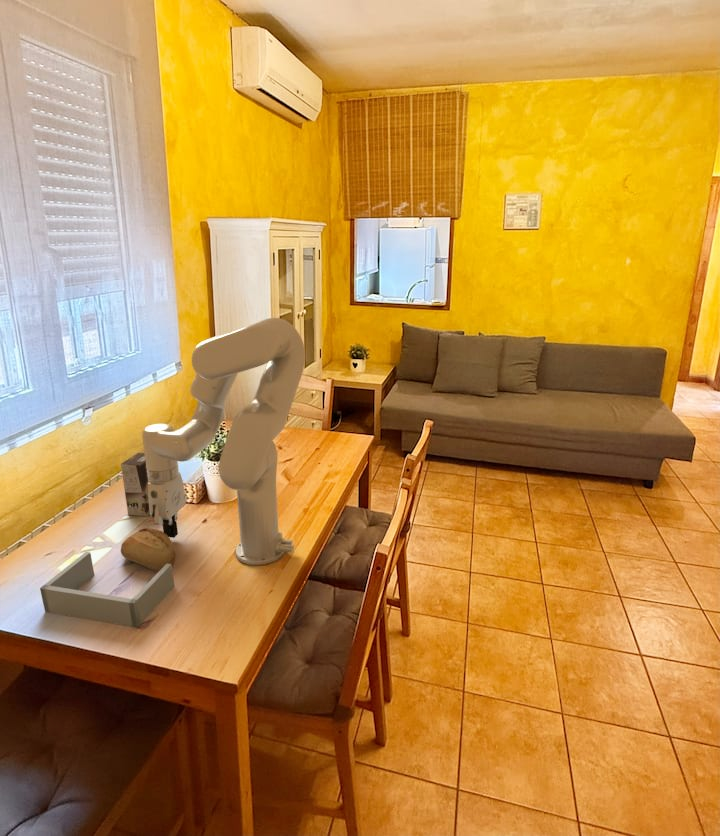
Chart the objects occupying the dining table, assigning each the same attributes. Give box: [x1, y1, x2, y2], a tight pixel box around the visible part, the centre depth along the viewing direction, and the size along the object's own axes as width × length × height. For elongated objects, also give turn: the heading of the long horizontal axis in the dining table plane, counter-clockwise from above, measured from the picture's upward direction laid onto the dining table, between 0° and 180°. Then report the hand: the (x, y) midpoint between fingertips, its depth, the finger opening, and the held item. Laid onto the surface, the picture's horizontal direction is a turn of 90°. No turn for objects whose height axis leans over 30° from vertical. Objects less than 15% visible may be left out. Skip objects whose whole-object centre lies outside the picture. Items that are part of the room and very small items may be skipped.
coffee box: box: [120, 452, 150, 517], centre depth 158 cm, size 9×6×16 cm
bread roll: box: [120, 527, 176, 571], centre depth 134 cm, size 10×15×8 cm, turn 67°
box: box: [39, 551, 175, 628], centre depth 120 cm, size 22×14×6 cm, turn 77°
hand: (171, 535), depth 143 cm, fingers closed
